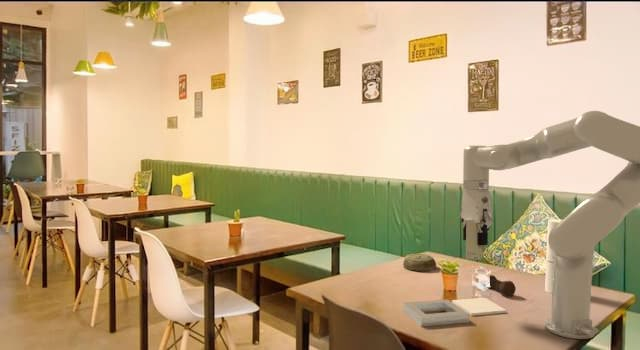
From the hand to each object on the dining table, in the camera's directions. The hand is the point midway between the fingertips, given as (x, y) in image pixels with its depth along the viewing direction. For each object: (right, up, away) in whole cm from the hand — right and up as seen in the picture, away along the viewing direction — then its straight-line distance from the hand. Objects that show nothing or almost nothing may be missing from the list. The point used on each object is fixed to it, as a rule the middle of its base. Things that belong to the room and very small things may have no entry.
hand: (475, 242), depth 150 cm
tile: (+2, -21, +3) cm, 22 cm away
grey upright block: (0, -5, 0) cm, 5 cm away
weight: (-7, -18, +50) cm, 54 cm away
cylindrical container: (+35, -20, +20) cm, 45 cm away
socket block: (-14, -22, -5) cm, 26 cm away
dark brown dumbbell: (+14, -20, +21) cm, 33 cm away
